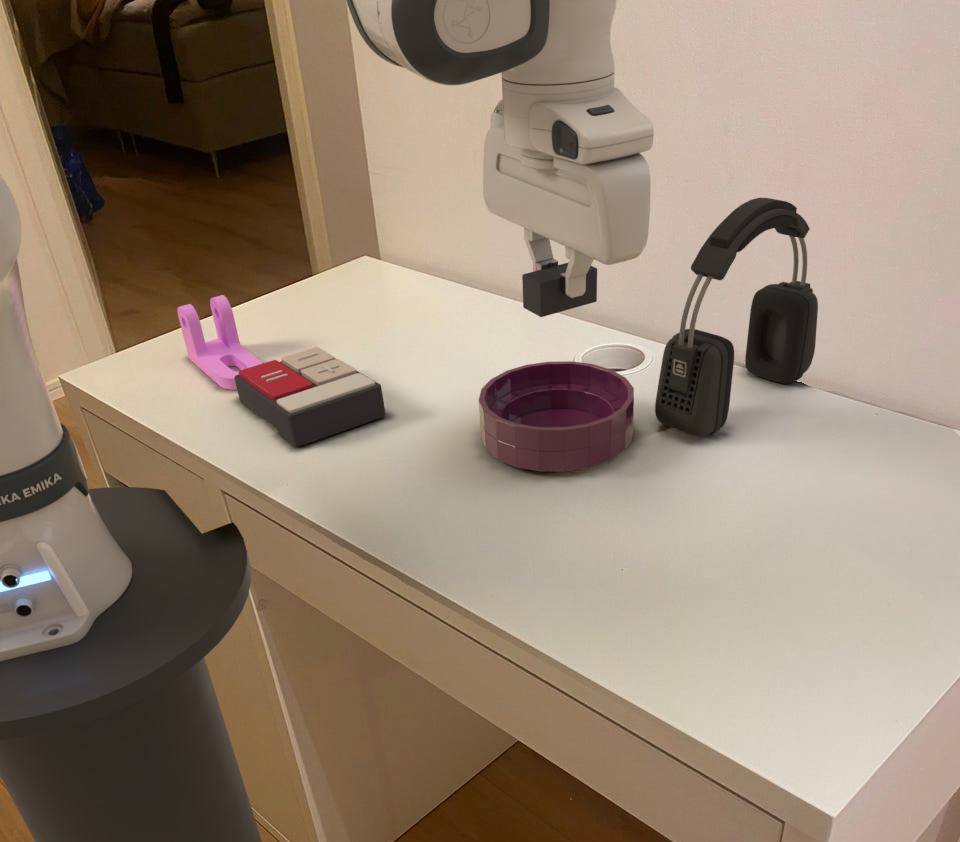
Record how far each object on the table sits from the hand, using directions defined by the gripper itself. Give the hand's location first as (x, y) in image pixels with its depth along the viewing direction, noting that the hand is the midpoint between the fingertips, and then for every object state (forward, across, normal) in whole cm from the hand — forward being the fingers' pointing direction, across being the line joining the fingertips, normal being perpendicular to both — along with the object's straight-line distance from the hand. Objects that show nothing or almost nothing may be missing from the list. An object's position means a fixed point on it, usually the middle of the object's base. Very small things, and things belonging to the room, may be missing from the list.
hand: (559, 287), depth 88 cm
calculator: (+17, -25, -16) cm, 34 cm away
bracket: (+17, -41, -20) cm, 49 cm away
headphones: (+17, +1, +21) cm, 27 cm away
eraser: (+2, 0, 0) cm, 2 cm away
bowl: (+17, -3, +2) cm, 17 cm away
